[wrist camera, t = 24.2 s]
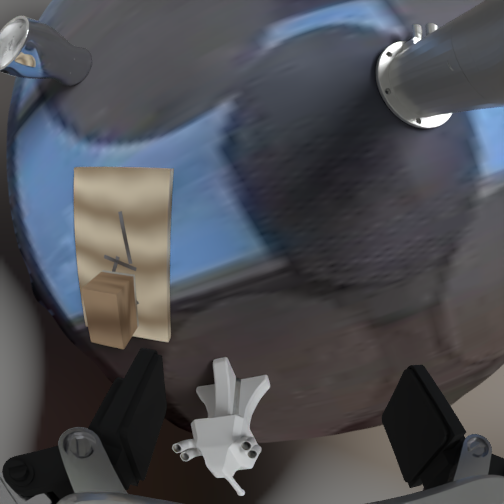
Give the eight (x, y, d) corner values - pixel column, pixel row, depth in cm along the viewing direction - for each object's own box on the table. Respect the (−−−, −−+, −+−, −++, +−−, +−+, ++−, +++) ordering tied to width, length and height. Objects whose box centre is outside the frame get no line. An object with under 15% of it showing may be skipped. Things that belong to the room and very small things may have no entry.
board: (80, 166, 35) (73, 167, 33) (173, 168, 35) (170, 169, 34) (90, 321, 42) (85, 326, 41) (170, 336, 42) (168, 342, 41)
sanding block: (103, 270, 38) (81, 288, 32) (134, 274, 38) (116, 294, 32) (108, 319, 40) (91, 341, 34) (138, 325, 40) (123, 349, 34)
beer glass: (53, 91, 31) (-18, 78, 17) (62, 49, 29) (-3, 24, 15) (90, 86, 32) (20, 64, 17) (99, 42, 29) (37, 6, 15)
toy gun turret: (213, 417, 48) (201, 501, 31) (184, 364, 44) (155, 455, 27) (278, 407, 46) (284, 495, 29) (258, 350, 43) (257, 448, 26)
